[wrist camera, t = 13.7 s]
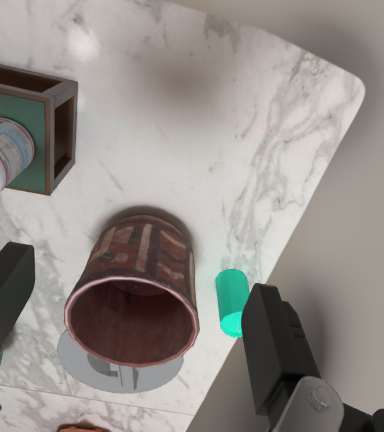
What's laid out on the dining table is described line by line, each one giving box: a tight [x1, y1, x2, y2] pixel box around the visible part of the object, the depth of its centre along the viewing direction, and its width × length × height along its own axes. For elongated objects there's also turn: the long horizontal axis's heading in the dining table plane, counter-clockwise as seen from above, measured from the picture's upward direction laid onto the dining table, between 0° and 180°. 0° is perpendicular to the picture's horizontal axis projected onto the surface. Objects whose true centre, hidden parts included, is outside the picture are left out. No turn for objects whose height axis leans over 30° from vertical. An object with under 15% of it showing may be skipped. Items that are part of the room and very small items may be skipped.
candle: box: [216, 269, 250, 338], centre depth 58 cm, size 6×6×12 cm
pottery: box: [64, 215, 200, 368], centre depth 50 cm, size 18×18×18 cm
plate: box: [57, 330, 183, 393], centre depth 74 cm, size 28×28×1 cm
